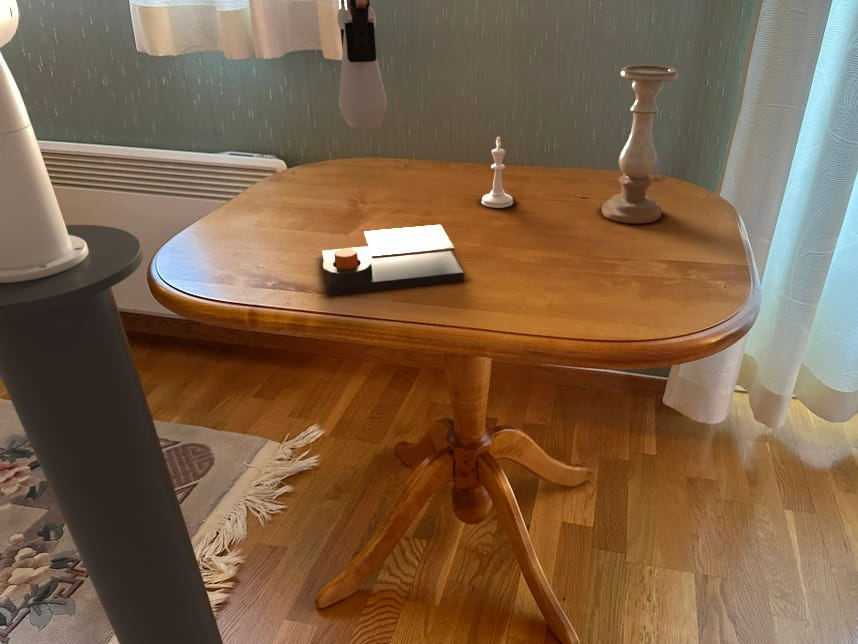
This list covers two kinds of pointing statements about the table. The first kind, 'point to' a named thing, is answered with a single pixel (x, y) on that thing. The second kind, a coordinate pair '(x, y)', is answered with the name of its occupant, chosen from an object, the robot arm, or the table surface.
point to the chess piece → (497, 182)
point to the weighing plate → (407, 241)
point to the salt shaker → (360, 87)
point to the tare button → (346, 258)
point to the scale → (390, 272)
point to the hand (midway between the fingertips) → (359, 56)
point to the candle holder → (639, 148)
